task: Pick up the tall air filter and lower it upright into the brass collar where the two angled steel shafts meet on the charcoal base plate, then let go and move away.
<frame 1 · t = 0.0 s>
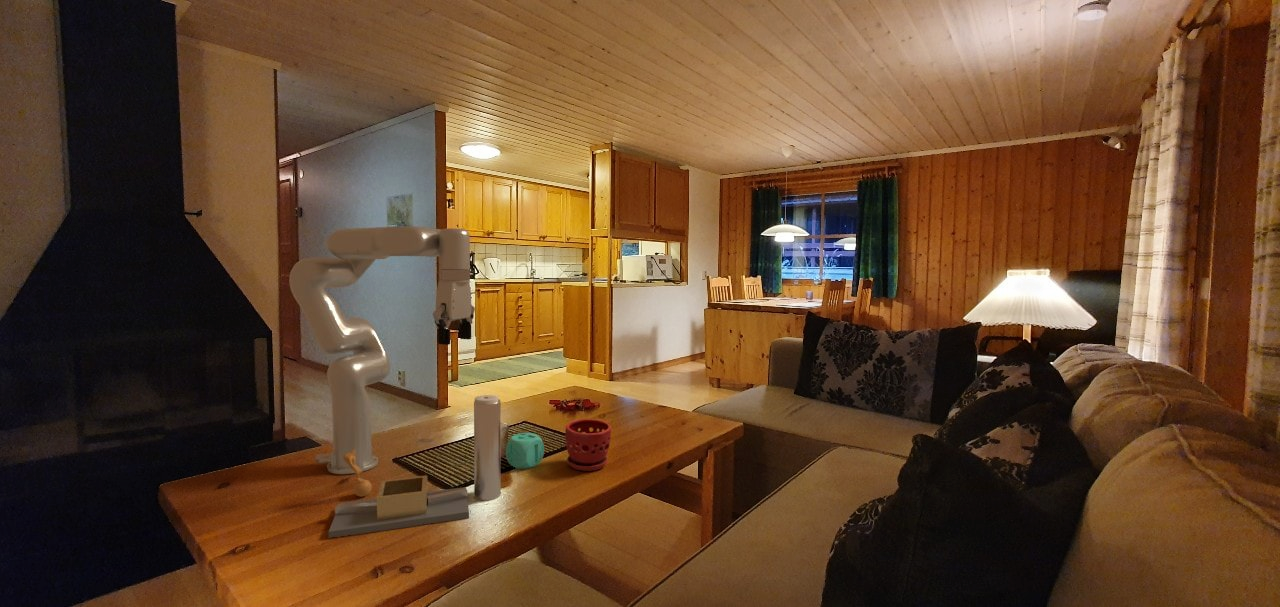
hand: (455, 341, 139), 37 cm above the table, tool pointing down, fingers open, 9 cm apart
plant pot: (588, 466, 153), on the table
decorative dice: (525, 464, 154), on the table
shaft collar: (403, 496, 122), on the base plate, point 4 cm above the table
figurine: (358, 497, 130), on the table
base plate: (403, 513, 122), on the table
air filter: (487, 495, 133), on the table
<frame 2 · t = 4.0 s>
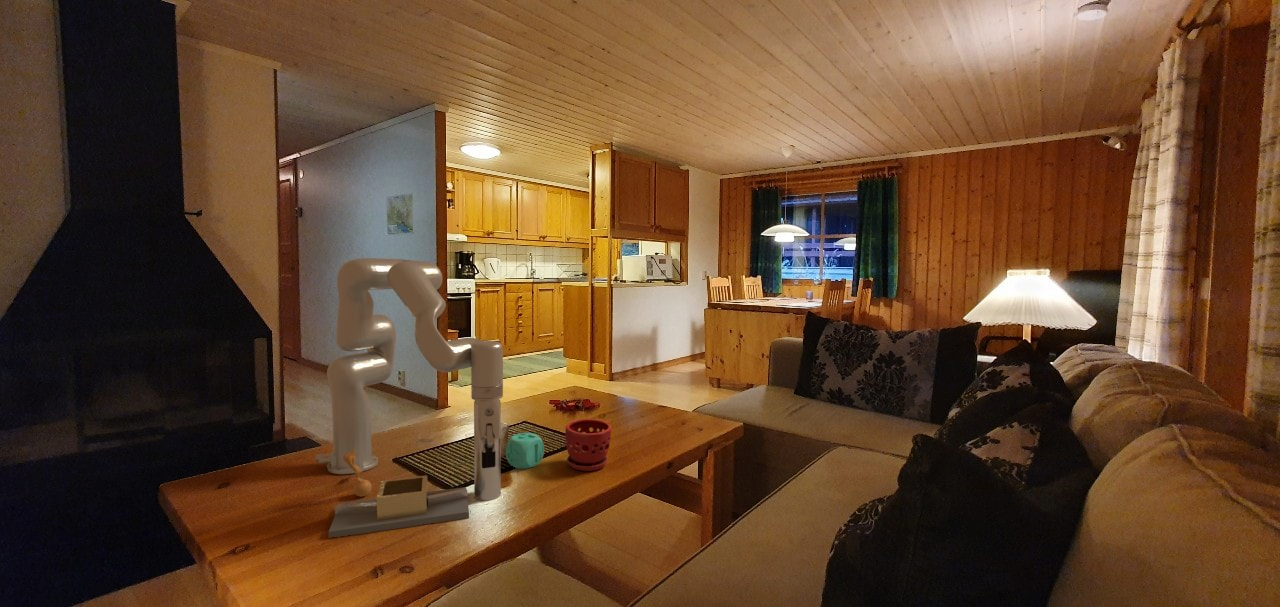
hand: (487, 461, 132), 9 cm above the table, tool pointing down, fingers closed on air filter, 5 cm apart
air filter: (487, 495, 133), on the table, touching gripper
everything else where it was.
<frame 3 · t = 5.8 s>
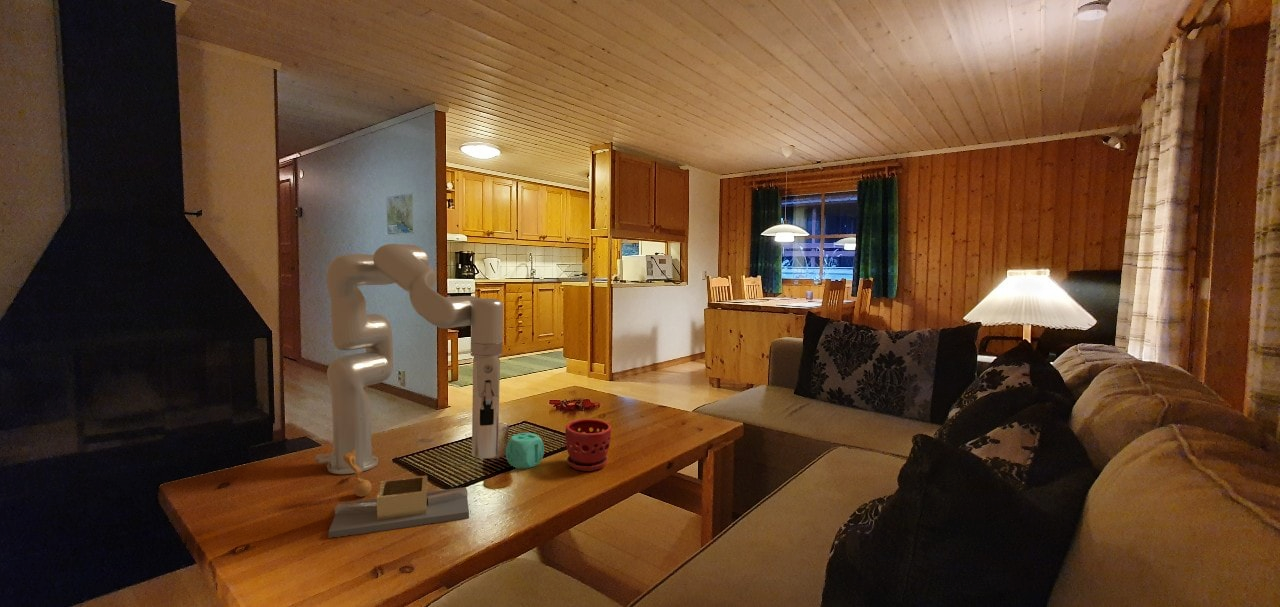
hand: (485, 420, 131), 19 cm above the table, tool pointing down, fingers closed on air filter, 5 cm apart
air filter: (485, 454, 132), point 10 cm above the table, touching gripper
everything else where it was.
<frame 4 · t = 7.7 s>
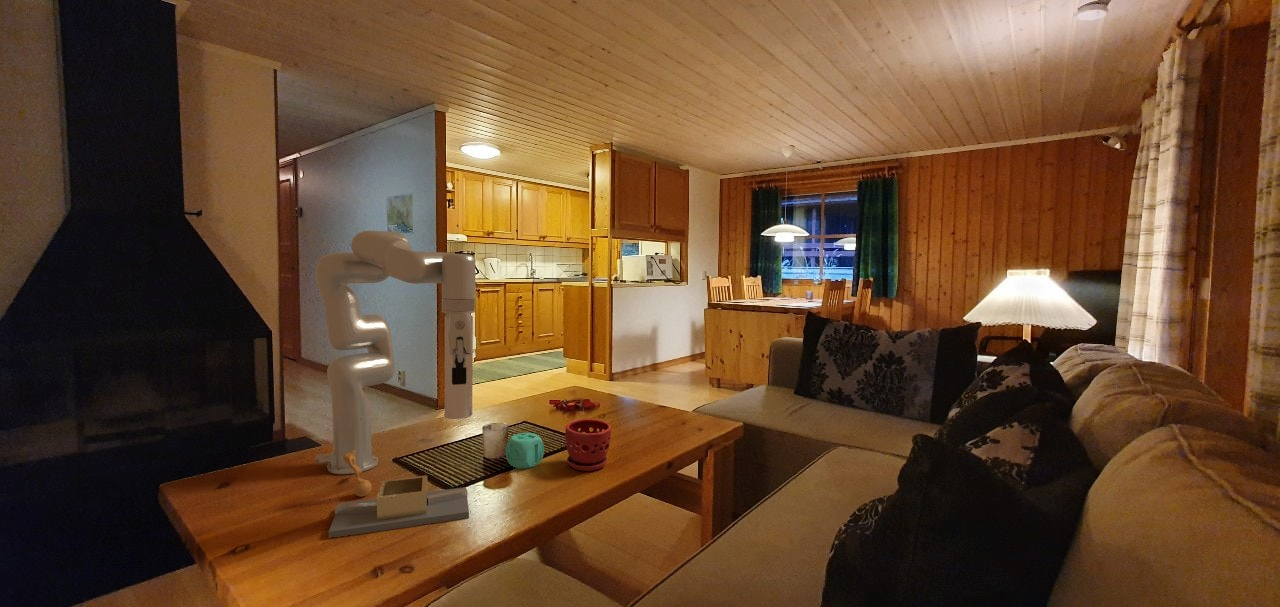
hand: (458, 380, 127), 30 cm above the table, tool pointing down, fingers closed on air filter, 5 cm apart
air filter: (458, 415, 128), point 21 cm above the table, touching gripper
everything else where it was.
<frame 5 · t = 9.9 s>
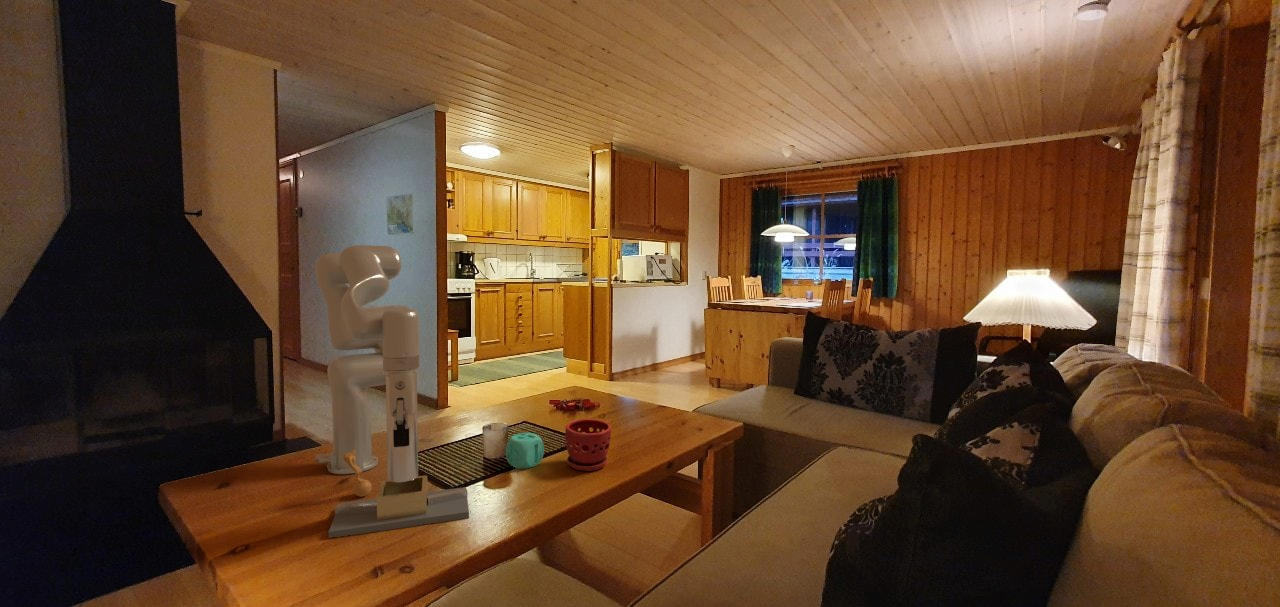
hand: (402, 440, 121), 17 cm above the table, tool pointing down, fingers closed on air filter, 5 cm apart
air filter: (403, 477, 122), point 8 cm above the table, touching gripper
everything else where it was.
when the fingers open (11 cm above the table, at t = 11.7 s): air filter stays where it is, resting on base plate.
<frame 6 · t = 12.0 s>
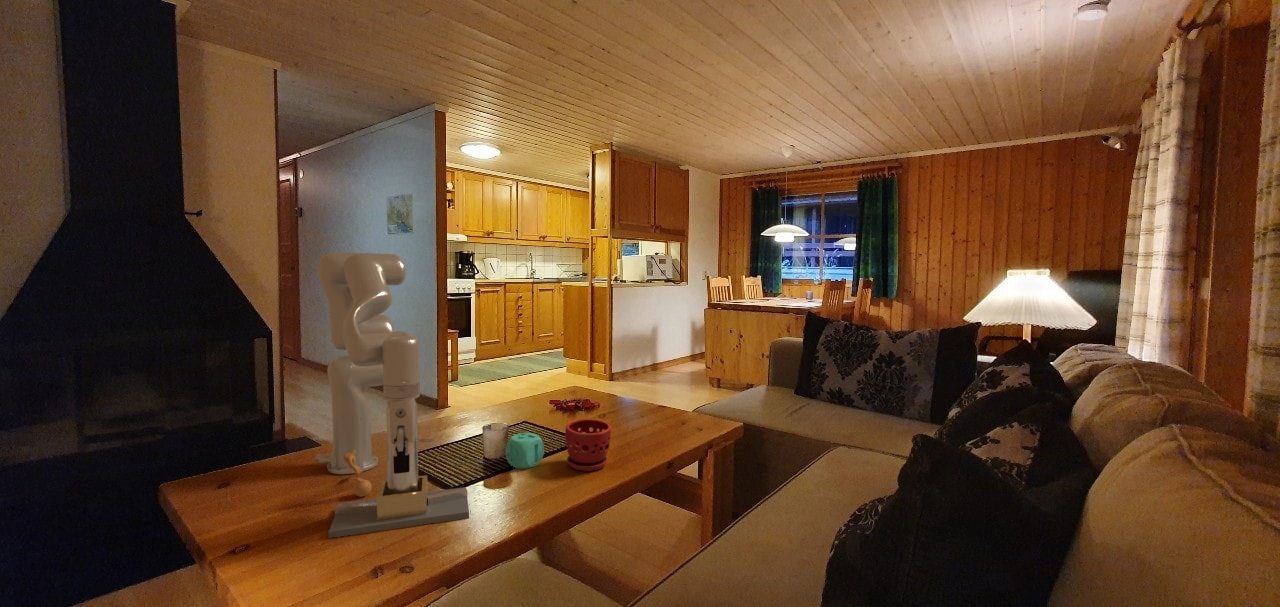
hand: (403, 464, 121), 12 cm above the table, tool pointing down, fingers open, 8 cm apart
air filter: (403, 507, 122), point 1 cm above the table, touching base plate
everything else where it was.
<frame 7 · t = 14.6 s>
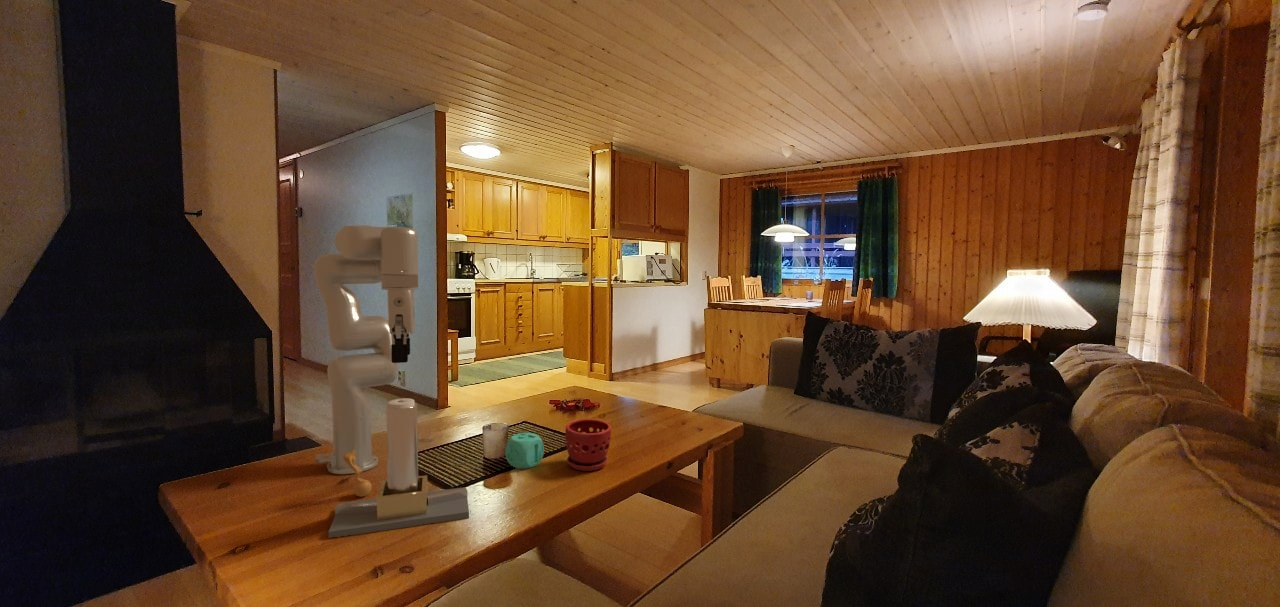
hand: (401, 358, 120), 36 cm above the table, tool pointing down, fingers open, 9 cm apart
nothing on the table moved.
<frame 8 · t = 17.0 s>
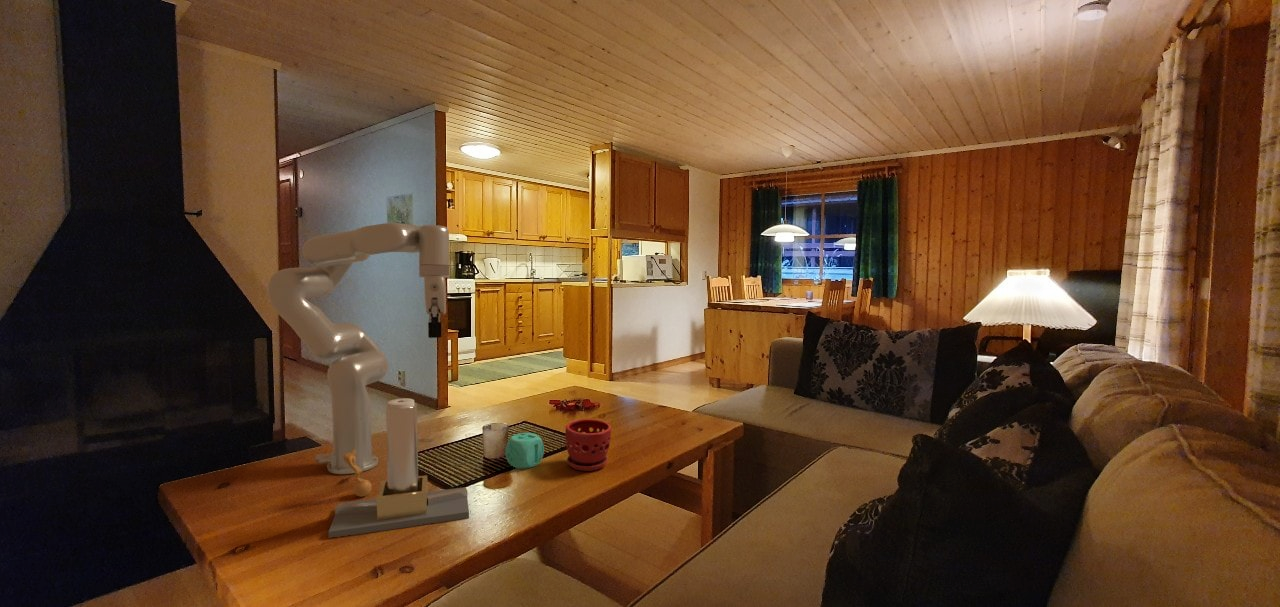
hand: (435, 335, 143), 38 cm above the table, tool pointing down, fingers open, 9 cm apart
nothing on the table moved.
at the end: air filter 0.3 cm off-centre on the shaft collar, point 1.3 cm above the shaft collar's base; air filter tilted 0°; the gripper is holding nothing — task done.
